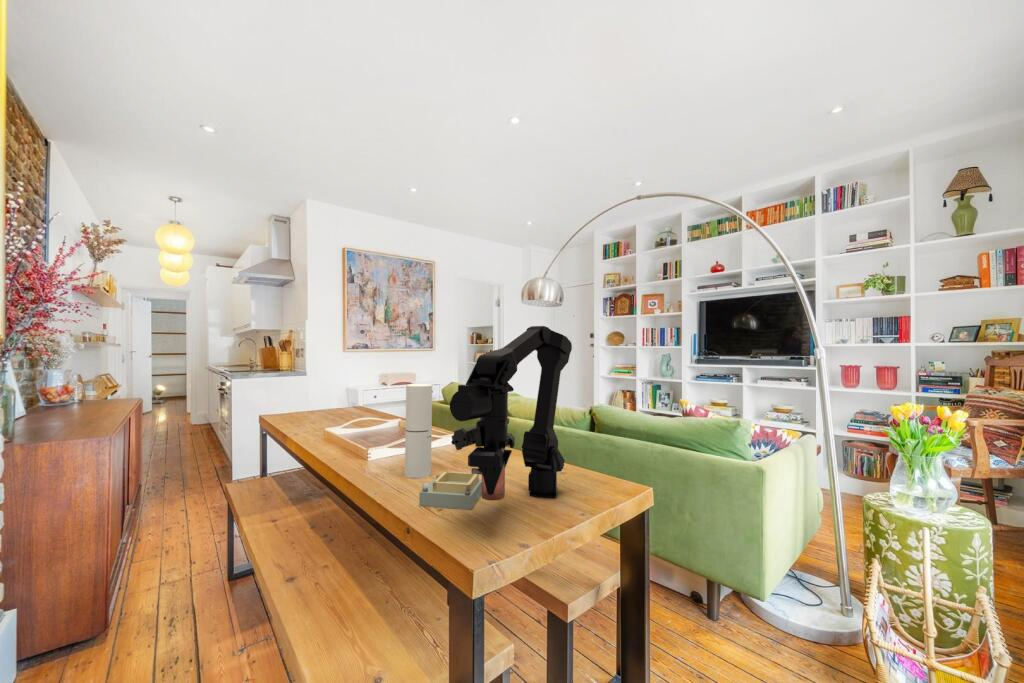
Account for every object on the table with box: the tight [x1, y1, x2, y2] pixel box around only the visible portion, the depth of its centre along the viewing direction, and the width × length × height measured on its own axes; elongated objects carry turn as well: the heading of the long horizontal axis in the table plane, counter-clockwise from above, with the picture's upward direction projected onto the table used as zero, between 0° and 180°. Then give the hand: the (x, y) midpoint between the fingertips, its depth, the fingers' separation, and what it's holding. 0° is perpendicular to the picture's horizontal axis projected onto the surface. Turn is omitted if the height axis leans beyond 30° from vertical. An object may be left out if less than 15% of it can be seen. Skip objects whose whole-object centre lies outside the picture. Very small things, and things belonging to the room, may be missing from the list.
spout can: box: [470, 464, 506, 502], centre depth 85 cm, size 7×5×7 cm
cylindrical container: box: [404, 383, 433, 479], centre depth 115 cm, size 7×7×25 cm
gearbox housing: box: [418, 470, 482, 511], centre depth 97 cm, size 14×11×5 cm
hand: (493, 490), depth 85 cm, fingers closed on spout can, 5 cm apart
